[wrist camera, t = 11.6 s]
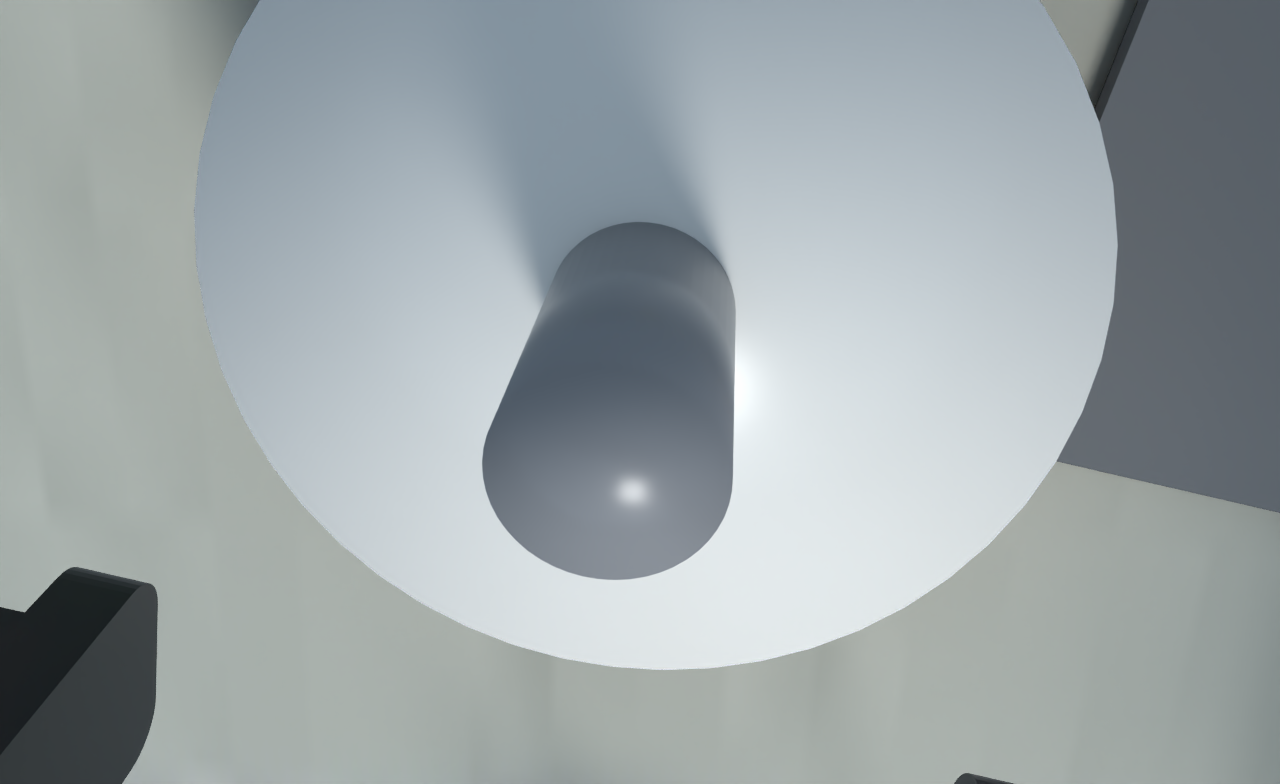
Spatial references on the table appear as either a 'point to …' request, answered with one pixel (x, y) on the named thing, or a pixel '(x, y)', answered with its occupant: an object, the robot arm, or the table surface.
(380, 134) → the lid
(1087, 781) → the table surface
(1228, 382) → the mat
